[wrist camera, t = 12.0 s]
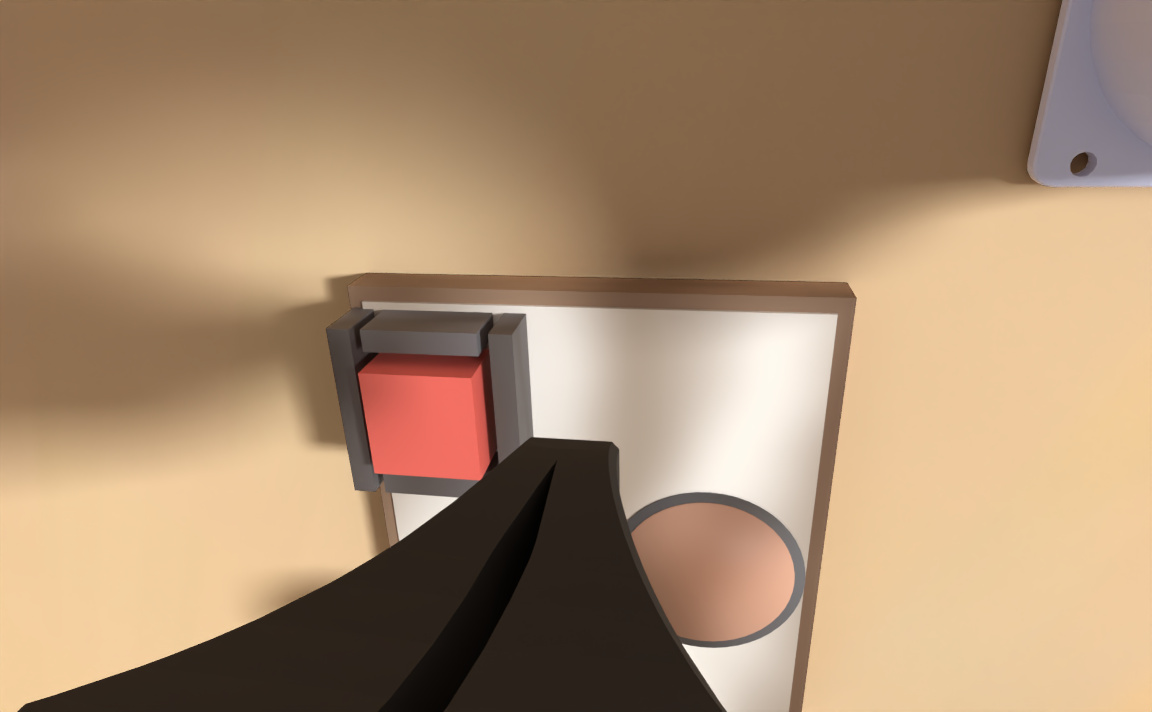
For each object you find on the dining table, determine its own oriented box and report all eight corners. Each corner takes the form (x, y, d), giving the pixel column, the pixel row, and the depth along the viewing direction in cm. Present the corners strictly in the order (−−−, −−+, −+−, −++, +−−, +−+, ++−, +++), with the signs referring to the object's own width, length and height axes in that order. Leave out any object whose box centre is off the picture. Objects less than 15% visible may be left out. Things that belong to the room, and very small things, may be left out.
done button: (491, 349, 19) (471, 378, 17) (499, 445, 20) (480, 480, 18) (387, 345, 19) (357, 373, 18) (400, 439, 20) (374, 473, 19)
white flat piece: (847, 282, 18) (870, 321, 16) (793, 709, 24) (804, 787, 22) (366, 272, 20) (317, 305, 18) (425, 667, 26) (396, 734, 24)
